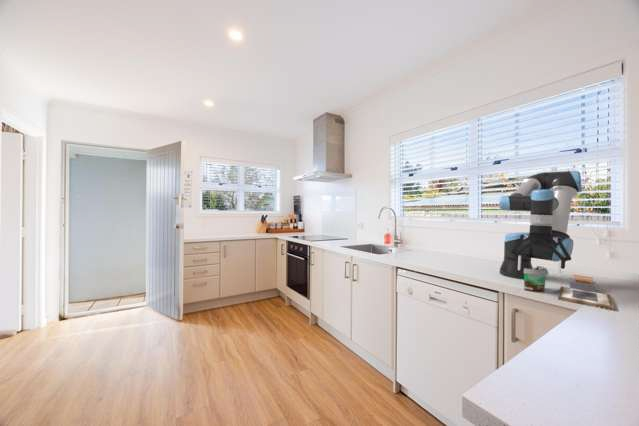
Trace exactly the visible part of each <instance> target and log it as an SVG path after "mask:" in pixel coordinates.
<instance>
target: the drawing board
mask: <svg viewBox="0 0 639 426" xmlns="http://www.w3.org/2000/svg"><path fill="white" fill-rule="evenodd" d="M557 299H558V300H560V301H564V302H567V303H568V302H569V303H574V304H578V305H583V306H584V305H585V306H587V307H588V306H589V307H593V306H595V307H594V308H598V307H600V308H599V309H603V308H605V309H604V310H608V309H609V310H608V311H612V310H614V311H615V306H614V302H613V300H612V297H611V294H607V293H601V292H591V291H585V290H580V289H574V288H570V287H567V286H562V285H561V286H560V289H559V293H558V298H557Z"/></svg>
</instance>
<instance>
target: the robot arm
mask: <svg viewBox="0 0 639 426" xmlns="http://www.w3.org/2000/svg"><path fill="white" fill-rule="evenodd" d="M581 192H583V185H582V177H581V172H580V171H579V170H566V171H549V172H540V173H536V174H533V175H531V176H528V177H526V178H525V179H523V180H522V181H521V183H520V185H519V186H518V187H517V189H516V190H515V191H513V192H512V193H511V194H510V195H502V196H500V197H499V203H498V205H499V209H500V210H501V211H508V212H509V211H513V212H530V216H529V217H530V218H529V223H530V225H529V232H509V233H507V234H505V236H504V243H503V244H504V246H503V247H504V248H503V251H504V252H503V260H502V262H501V265H500V268H499V274H500V275H502V276H506V277H509V278H515V279H520V280H522V279H523V280H524V273H523V272H524V268H526V269H530V268H533V265H532V259H537V260H543V261H544V260H545V261H549V262H550V261H551V262H555V263H557V262H558V266H557V267H558V268H557V277H561V276H562V269H563V270H564V269H565V268H566V262H568V261H571V260H572V253H573V249H574V240H573V238H571V236H570V235H569V233H568V226H569V220H570V216H571V215H570V214H571V208H572V203H573V202H572V201H573V198H575V197H576V196H577V195H578V193H581Z"/></svg>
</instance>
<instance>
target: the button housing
mask: <svg viewBox="0 0 639 426" xmlns="http://www.w3.org/2000/svg"><path fill="white" fill-rule="evenodd" d="M569 284H570V285H569V288H574V289H580V290H585V291H591V292H596V291H597V289H596V288H597V284H596V282H595V281H593V282H589V284H587V283H581V282H577V280H574V279H573V277H570V283H569Z"/></svg>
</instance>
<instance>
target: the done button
mask: <svg viewBox="0 0 639 426" xmlns="http://www.w3.org/2000/svg"><path fill="white" fill-rule="evenodd" d="M572 276H573V277H572V278H573V279H574V280H577V282H581V283H587V284H589V282H594V277H592V276H586V275H585V276H584V275H579V274H573V275H572Z"/></svg>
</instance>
